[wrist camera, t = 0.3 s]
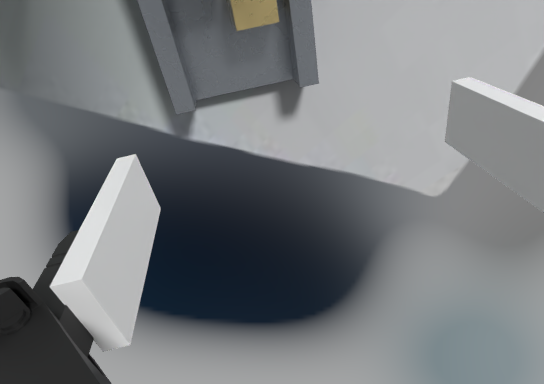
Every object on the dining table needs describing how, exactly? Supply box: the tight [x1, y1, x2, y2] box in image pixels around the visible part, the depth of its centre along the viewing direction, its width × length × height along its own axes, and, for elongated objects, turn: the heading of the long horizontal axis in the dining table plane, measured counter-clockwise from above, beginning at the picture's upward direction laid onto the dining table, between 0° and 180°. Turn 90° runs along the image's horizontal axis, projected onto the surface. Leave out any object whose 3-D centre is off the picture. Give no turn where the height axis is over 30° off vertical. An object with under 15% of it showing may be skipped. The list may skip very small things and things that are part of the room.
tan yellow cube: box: [229, 0, 279, 31], centre depth 32 cm, size 4×4×4 cm
